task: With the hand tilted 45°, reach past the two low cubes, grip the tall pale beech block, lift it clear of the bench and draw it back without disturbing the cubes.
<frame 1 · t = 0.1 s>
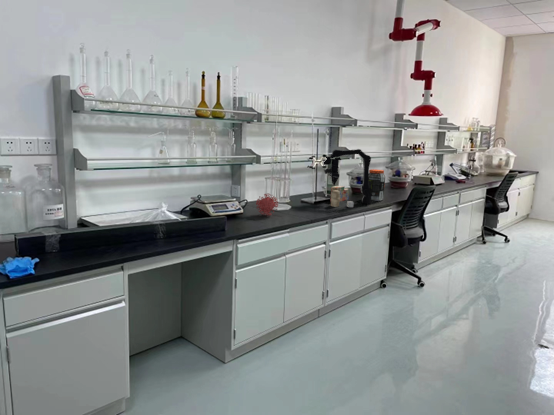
hand: (333, 184, 341), 15 cm above the countertop, tool pointing down, fingers open, 9 cm apart
virus model: (266, 215, 281), on the countertop
sage cube: (335, 203, 338), on the countertop
stack of blocks: (339, 200, 353), on the countertop
supplement tub: (374, 199, 366), on the countertop
beech block: (334, 206, 326), on the countertop
grey cube: (349, 206, 327), on the countertop
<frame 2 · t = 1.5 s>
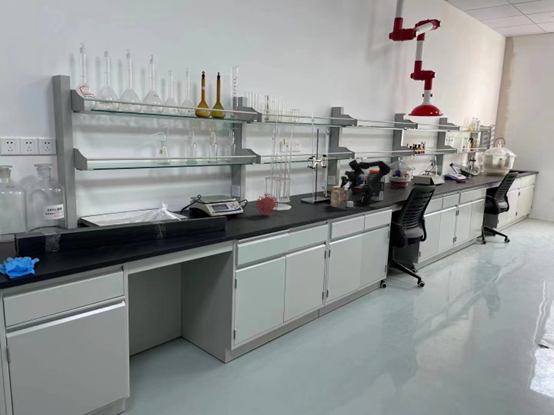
hand: (344, 188, 327), 14 cm above the countertop, tool tilted 45°, fingers open, 9 cm apart
nothing on the countertop moved.
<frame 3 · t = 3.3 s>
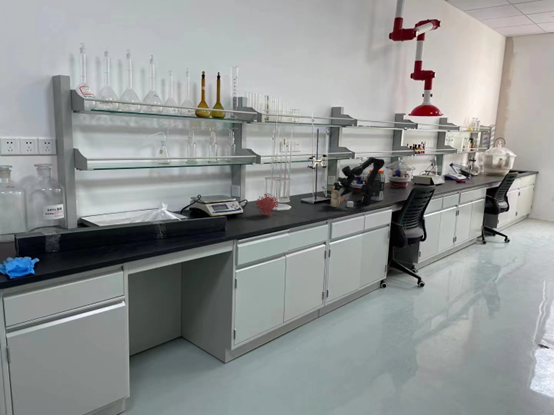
hand: (336, 195, 325), 9 cm above the countertop, tool tilted 45°, fingers open, 9 cm apart
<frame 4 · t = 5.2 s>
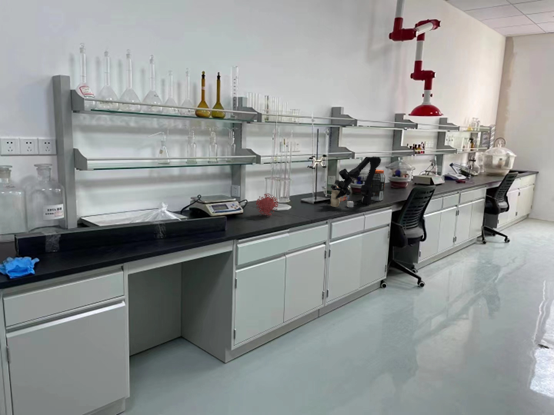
hand: (334, 197, 324), 7 cm above the countertop, tool tilted 45°, fingers closed on beech block, 4 cm apart
beech block: (334, 206, 326), on the countertop, touching gripper
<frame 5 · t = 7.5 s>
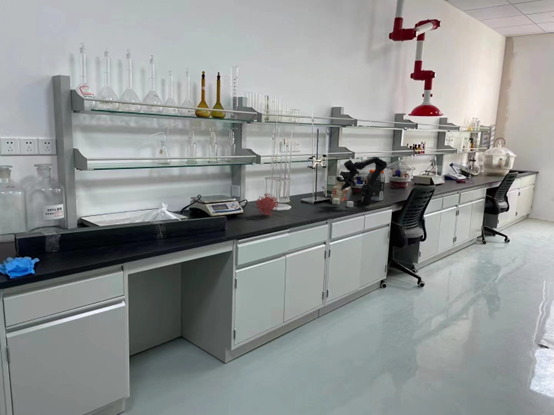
hand: (339, 189, 325), 13 cm above the countertop, tool tilted 45°, fingers closed on beech block, 4 cm apart
beech block: (340, 197, 327), point 7 cm above the countertop, touching gripper
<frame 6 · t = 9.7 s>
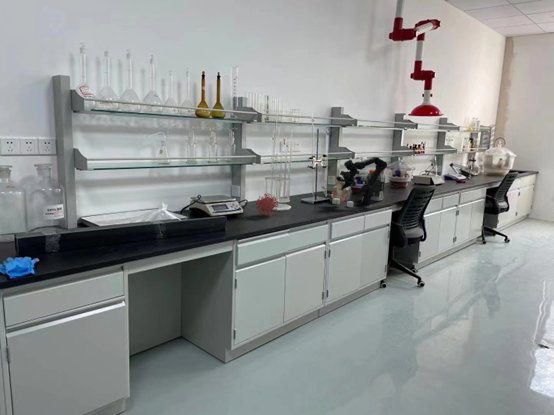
hand: (339, 188, 325), 13 cm above the countertop, tool tilted 45°, fingers closed on beech block, 4 cm apart
beech block: (340, 197, 327), point 7 cm above the countertop, touching gripper
at the end: the gripper is holding beech block; beech block point 6.9 cm above the countertop; grey cube moved 0.1 cm from its start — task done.
